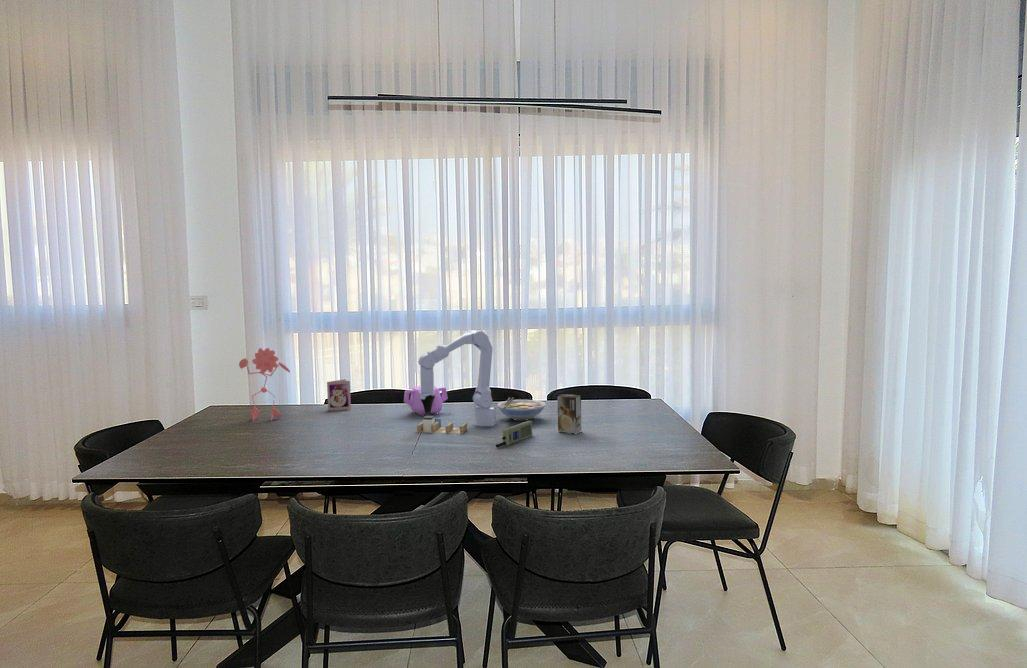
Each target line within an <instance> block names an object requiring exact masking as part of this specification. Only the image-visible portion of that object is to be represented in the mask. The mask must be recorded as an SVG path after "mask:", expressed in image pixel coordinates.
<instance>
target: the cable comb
mask: <svg viewBox="0 0 1027 668" xmlns="http://www.w3.org/2000/svg"><path fill="white" fill-rule="evenodd" d="M434 418H435V423H434V424H433V425H432V426H431V431H423V421H421V422H420V423H418V424H417V425H416V432H417V433H427V434H429V433H430V434H456V435H457V434H459V435H460V434H461V435H463V434H464V433H465V432H467V430H469V427H468V422H464V423H462V424H461V425H460V426H459V427H454V422H452V421H450V422H449V423H448V424H446V425H445V427H442V418H441V417H434Z"/></svg>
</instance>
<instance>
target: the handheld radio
mask: <svg viewBox="0 0 1027 668" xmlns="http://www.w3.org/2000/svg"><path fill="white" fill-rule="evenodd" d="M501 431H502V437H501V438H502V442H499V443H497V444H495V447H496V449H497V448H500V447H502V446H503V447H504V446H505V445H508V446H510V444H511V445H512V443H513V444H515V442H516V443H517V441H518V442H520V441H519V440H521V441H523V440H525V439H524V438H526V437H528V438H530V437H529V436H531V435H532V436H533V422H532V420H526V421H522V422H521V423H518V424H516V425H513V426H510V427H507V428H504V429H502V430H501ZM532 436H531V437H532ZM522 439H523V440H522ZM526 439H527V438H526Z"/></svg>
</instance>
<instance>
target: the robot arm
mask: <svg viewBox="0 0 1027 668" xmlns="http://www.w3.org/2000/svg"><path fill="white" fill-rule="evenodd" d="M464 345H474V346H475V347H476V348H477V349H478V350H479V351H480V358H479V367H478V378H477V386H476V387H475V391H474V393H473V395H472V401H473V403H474V404H475V405H474V425H475V426H476V427H494V426H496V424H497V409H496V408H495V407H492V404H493V398H492V397H493V396H492V390H491V388H490V382H491V381H490V380H491V372H492V370H491V369H492V360H493V359H492V357H493V346H492V344H491V341H490V338H489V335H488V334H486V333H485V332H484V331H482V330H476V329H471V330H469V331H467V332H464V333H463V334H462V335H460V336H459V337H457V338H456V339H454V340H452V341H451V342H449V343H448V344H446V345H444V344H441V345H440V344H438V345H437V346H436V347H435V348H434V349H433V350H431V351H426V352H427V354H426V353H425V354H422V355H420V357H419V359H418V361H417V362H418V365H419V366H420V368H419V369H420V372H419V373H420V377H419V378H420V386H421V391H419V392H418V394H421V395H420V400H421V401H422V403H423V406H424V410H425V414H430V412H431V408H432V403H433V400H434V398H435V396H431V395H432V394H434V393H435V389H434V386H435V380H434V379H435V377H434V376H435V375H434V374H435V373H434V367H435V365H436V364H437V363H440V361H443V360H445V359H447V358H448V357H449V355H450V353H451V352H452V351H455V350H457V349H458V348H461V347H462V346H464Z"/></svg>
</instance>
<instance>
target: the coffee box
mask: <svg viewBox="0 0 1027 668" xmlns="http://www.w3.org/2000/svg"><path fill="white" fill-rule="evenodd" d="M556 398H557V403H556V404H557V432H558V431H559V432H558V433H560V432H568V433H567V434H571V433H578V432H580V431H581V430H582V429H583V428H582V395H579V394H567V393H562V394H559V395H558V396H557V397H556ZM582 431H583V430H582ZM582 431H581V432H582ZM581 432H580V433H581ZM578 434H579V433H578Z"/></svg>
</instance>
